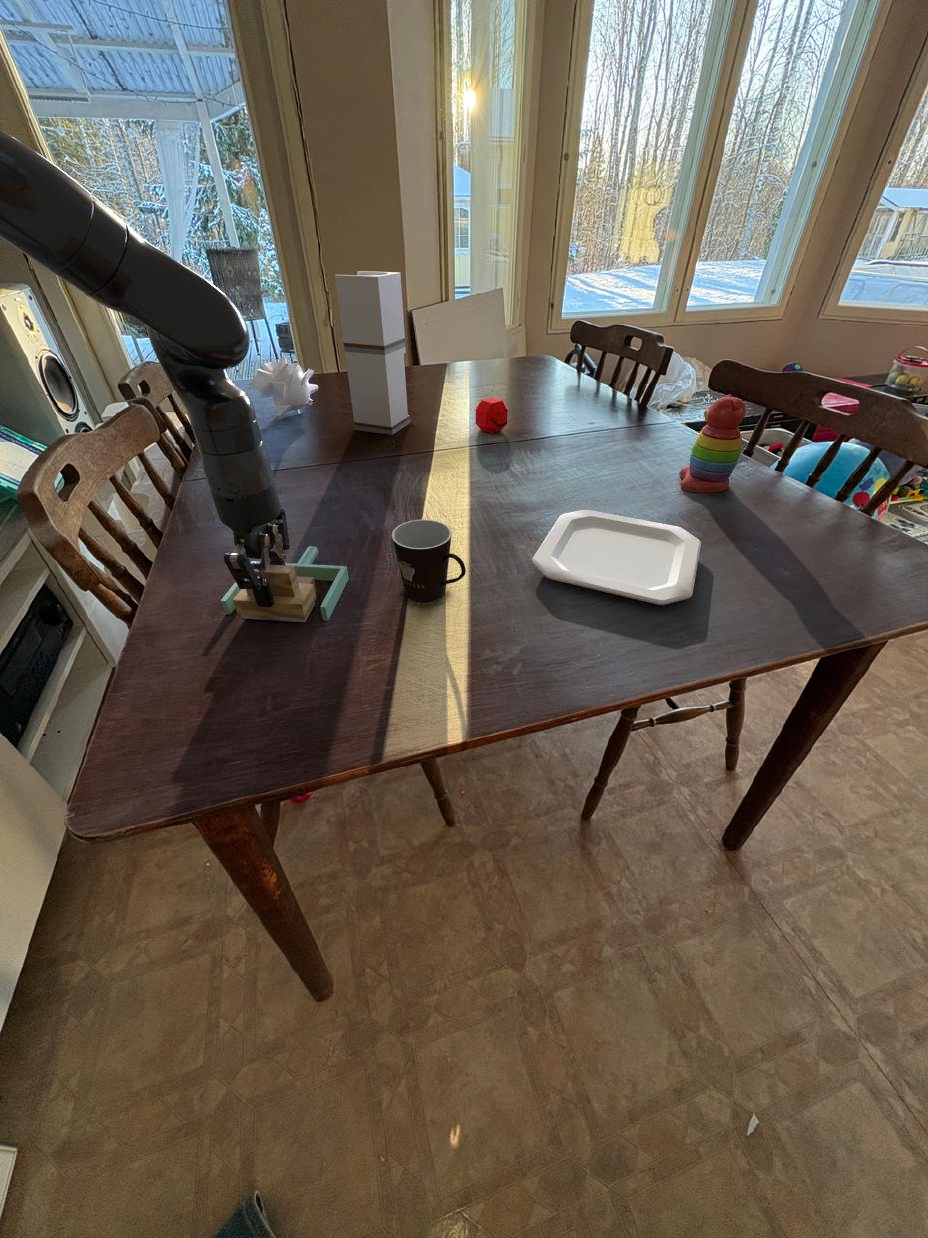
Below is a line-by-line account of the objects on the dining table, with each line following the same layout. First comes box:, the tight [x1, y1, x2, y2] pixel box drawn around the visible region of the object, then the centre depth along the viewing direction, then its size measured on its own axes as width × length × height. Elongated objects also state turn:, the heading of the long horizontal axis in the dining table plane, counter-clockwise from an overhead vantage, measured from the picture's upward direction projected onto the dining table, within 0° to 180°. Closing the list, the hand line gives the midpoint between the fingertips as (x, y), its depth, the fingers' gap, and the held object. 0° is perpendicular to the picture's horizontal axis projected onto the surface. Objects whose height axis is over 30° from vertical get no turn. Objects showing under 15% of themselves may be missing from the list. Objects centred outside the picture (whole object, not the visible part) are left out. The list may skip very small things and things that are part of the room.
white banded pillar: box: [334, 270, 411, 436], centre depth 130 cm, size 11×11×35 cm
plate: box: [531, 509, 702, 606], centre depth 86 cm, size 25×25×2 cm
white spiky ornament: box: [249, 355, 319, 417], centre depth 147 cm, size 20×17×15 cm
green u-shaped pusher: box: [220, 545, 350, 621], centre depth 80 cm, size 17×16×2 cm
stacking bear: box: [678, 393, 747, 494], centre depth 105 cm, size 11×10×18 cm
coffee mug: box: [391, 519, 467, 603], centre depth 76 cm, size 12×9×10 cm
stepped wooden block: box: [233, 565, 317, 623], centre depth 73 cm, size 10×5×8 cm, turn 84°
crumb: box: [297, 576, 318, 596], centre depth 77 cm, size 3×3×3 cm
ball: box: [475, 397, 509, 434], centre depth 136 cm, size 8×8×8 cm
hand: (274, 593), depth 73 cm, fingers closed on stepped wooden block, 5 cm apart
